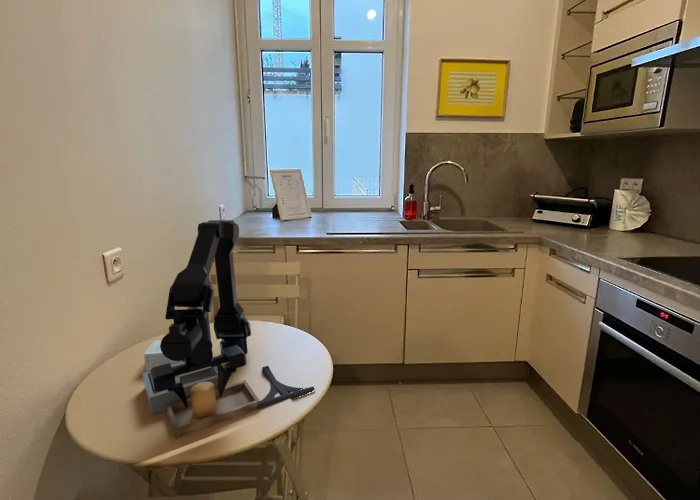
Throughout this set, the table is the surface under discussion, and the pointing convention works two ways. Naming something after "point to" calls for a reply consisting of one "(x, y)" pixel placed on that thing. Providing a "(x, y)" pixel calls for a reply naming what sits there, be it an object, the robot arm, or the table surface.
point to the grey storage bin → (165, 397)
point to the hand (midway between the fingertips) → (203, 401)
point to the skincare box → (156, 357)
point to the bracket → (280, 390)
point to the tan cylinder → (203, 400)
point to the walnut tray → (228, 406)
